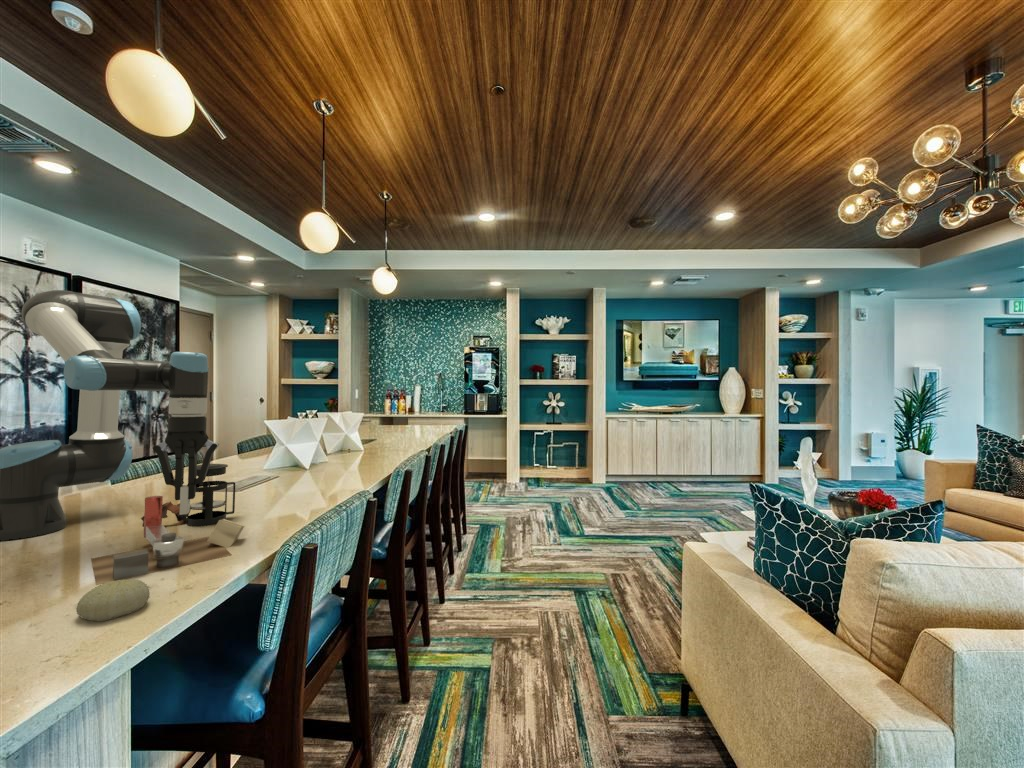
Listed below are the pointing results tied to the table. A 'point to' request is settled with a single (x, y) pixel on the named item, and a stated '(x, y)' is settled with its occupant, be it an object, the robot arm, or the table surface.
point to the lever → (159, 530)
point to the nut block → (225, 533)
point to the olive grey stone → (113, 600)
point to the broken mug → (173, 509)
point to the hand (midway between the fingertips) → (184, 512)
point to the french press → (210, 498)
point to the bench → (153, 560)
